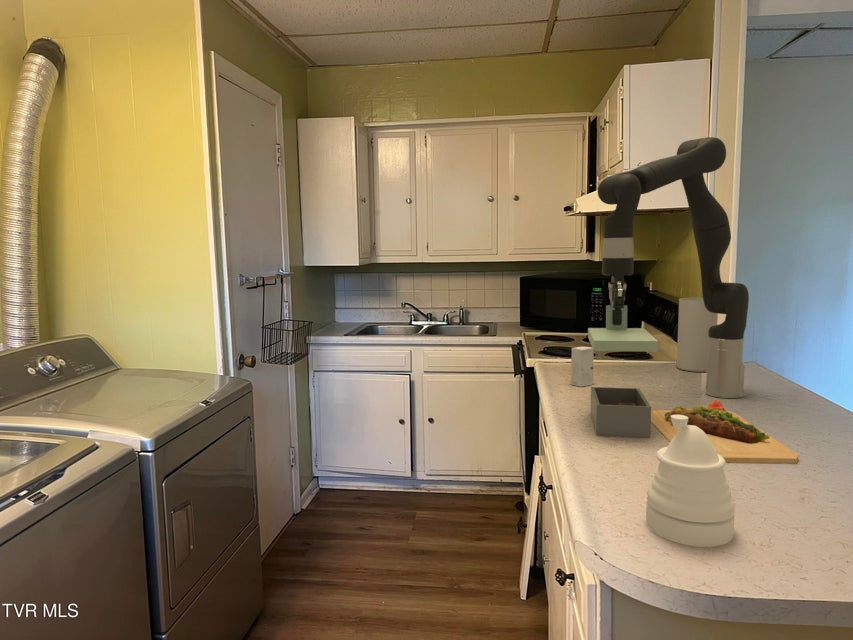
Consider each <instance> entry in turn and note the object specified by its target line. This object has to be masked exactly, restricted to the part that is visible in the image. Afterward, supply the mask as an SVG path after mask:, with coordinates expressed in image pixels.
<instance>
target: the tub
mask: <svg viewBox="0 0 853 640" xmlns="http://www.w3.org/2000/svg"><path fill="white" fill-rule="evenodd" d="M618 403H634V404H635V405H636V406H629V405H618ZM651 410H652V406H651V404H650V403H649V401H648V400H647V398H646V396H645V395H644V394H643V392H642V391H641V389H640V387H639V388H638V387H637V388H636V387H609V386H608V387H607V386H591V387H590V411H589V413H590V417H591V420H592V421H591V422H592V425H593V428H594V433H595V436H601V437H602V436H603V437H604V436H605V437H618V438H619V437H623V438H624V437H625V438H643V439H644V438H647V439H651V430H652V429H651V425H652V423H651Z"/></svg>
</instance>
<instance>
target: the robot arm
mask: <svg viewBox="0 0 853 640" xmlns="http://www.w3.org/2000/svg"><path fill="white" fill-rule="evenodd" d="M726 158H727V148H726V145H725V143H724V142H723V140H722V139H720V138H718V137H714V136H712V137H711V136H709V137H708V136H707V137H702V138H701V137H700V138H696V139H690V140H685V141H683V142H681V144H679V145H678V148H677V151H676V155H672V156H668V157H663V158H660V159H656V160H652V161H650V162H648V163H645V164H642V165H640V166H638V167H636V168H634V169H631V170H627V171H624V172H619V173H615V174H612V175H609V176H607V177H605V178H604V179H602V180H601V182H600V183H599V185H598V187H597V196H598V198H599V199H600V201H601V202H602V203H603V204H606V205H616V206H615V209H614V211H613V213H610V214H608V215H606V216H605V218H604V221H603V241H602V257H601V258H602V259H601V264H602V265H601V274H602V275H603V276H609V277H610V276H611V281H610V282H609V281H608V291H609V292H608V294H609V295H608V296H609V297H608V298H609V300H610V303H609V305H612V310H613V314H612V324H613V325H621V324H622V310H623V308H624V305H625V300H626V291H627V282H625V280H624V279H625V278H624V277H625V276H632V275H634V262H635V261H634V258H635V257H634V256H635V251H634V250H635V247H634V246H635V245H634V220H635V217H636V214H637V210H638V207H639V203H640V201H641V200H640V199H641V195H645V194H648V193H651V192H653V191H656V190H657V189H660V188H662V187H665V186H667V185H669V184H673V183H674V182H677V181H680V180H681V182H682V186H683V189H684V192H685V193H684V194H685V196H686V197H685V198H686V200H687V204H688V210H689V214H690V218H691V226H692V231H693V237H694V243H695V246H696V251H697V256H698V262H699V268H700V269H699V270H700V279H701V292H702V298H703V301H704V305H705V307H706V309H707V310H708V311H709V312H712V313H718V315H720V314H721V315H725V318H724V321H723V322H721V323H719V324H717V325H715V326H712V327H710V328H709V332H708V356H707V372H706V384H705V394H707V395H708V396H711V397H714V398H721V399H735V398H736V399H738V398H744V385H745V369H746V368H745V365H744V364H743V359H744V358H743V354H744V337H745V332H746V331H745V330H746V328H747V322H748V321H747V319H748V310H749V304H750V303H749V301H750V300H749V299H750V298H749V297H750V296H749V290H748V287H747V286H746V285H745V284H743V283H740V282H739V283H738V282H723V281H722V278H721V263H722V261H723V258H724V256H725V254H726V252H727V250H728V248H729V246H730V243H731V239H732V233H731V227H730V220H729V216H728V215H727V212H726V210H725V209H724V207H723V206H722V205H721V203H720V202H719V201H718V200H717V199H716V198H715V196H714V195H713V194H712V193H711V191H710V190H709V188H708V187H707V185H706V181H705V178H704V174H709V173H712V172H715V171H718V169H720V168H722V166H723V165H724V164H725V161H726Z"/></svg>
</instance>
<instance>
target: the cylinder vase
mask: <svg viewBox="0 0 853 640" xmlns="http://www.w3.org/2000/svg"><path fill="white" fill-rule="evenodd" d="M718 315H719V314H718V313H712V312H709V311H708V310H707V309H706V307H705V305H704V301H703V297H681V298H678V325H677V327H678V328H677V347H676V348H677V351H676V353H677V355H676V366H677V368H678V369H679V370H682V371H685V372H691V373H707V356H708V332H709V328H710V327H712V326H715V325H718V318H719V317H718Z"/></svg>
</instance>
